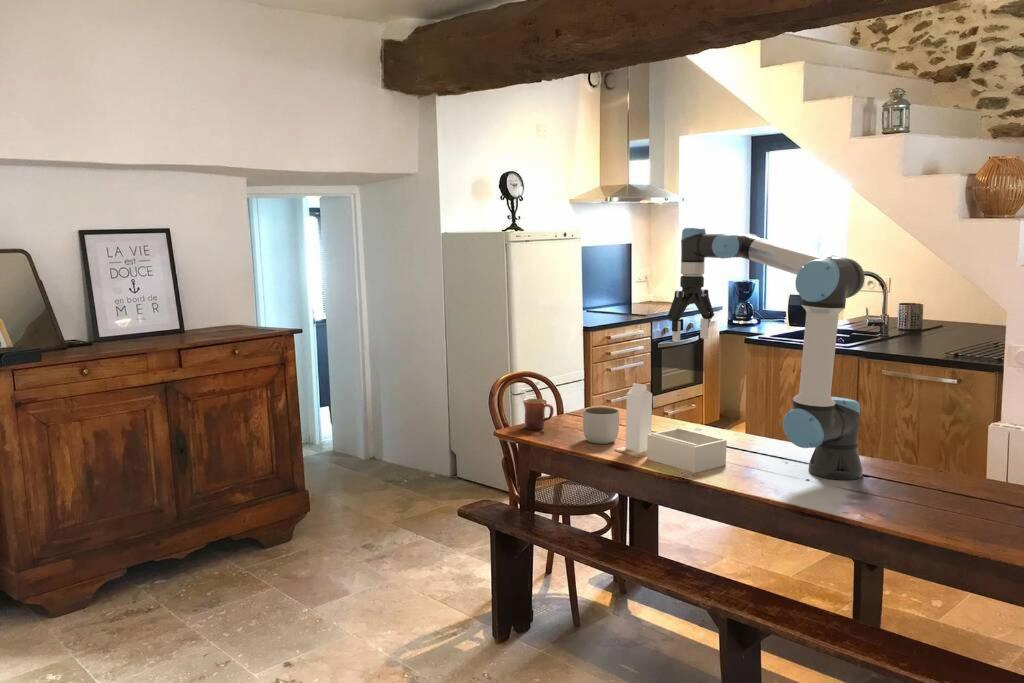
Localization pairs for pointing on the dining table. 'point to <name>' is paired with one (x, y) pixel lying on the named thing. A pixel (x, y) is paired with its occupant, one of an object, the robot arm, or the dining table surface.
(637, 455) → the mat
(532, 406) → the mug
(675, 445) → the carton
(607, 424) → the planter
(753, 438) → the dining table surface
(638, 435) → the milk
